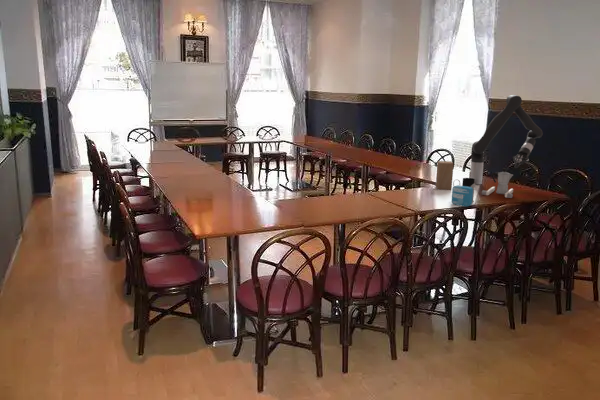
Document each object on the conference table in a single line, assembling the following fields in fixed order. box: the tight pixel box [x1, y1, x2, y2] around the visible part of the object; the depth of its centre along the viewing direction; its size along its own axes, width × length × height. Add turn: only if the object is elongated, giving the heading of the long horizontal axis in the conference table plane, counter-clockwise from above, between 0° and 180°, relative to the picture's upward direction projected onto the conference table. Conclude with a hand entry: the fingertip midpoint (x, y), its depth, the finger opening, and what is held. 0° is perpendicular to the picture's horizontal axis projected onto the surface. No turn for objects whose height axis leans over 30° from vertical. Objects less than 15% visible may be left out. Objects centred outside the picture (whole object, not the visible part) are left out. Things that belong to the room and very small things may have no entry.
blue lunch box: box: [452, 177, 476, 203], centre depth 329 cm, size 9×14×15 cm, turn 58°
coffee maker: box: [490, 167, 514, 195], centre depth 353 cm, size 15×9×18 cm, turn 65°
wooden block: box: [435, 160, 454, 191], centre depth 367 cm, size 10×10×20 cm
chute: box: [481, 186, 514, 199], centre depth 353 cm, size 20×22×2 cm
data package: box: [450, 184, 474, 207], centre depth 316 cm, size 12×4×12 cm, turn 48°
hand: (515, 167), depth 370 cm, fingers closed
